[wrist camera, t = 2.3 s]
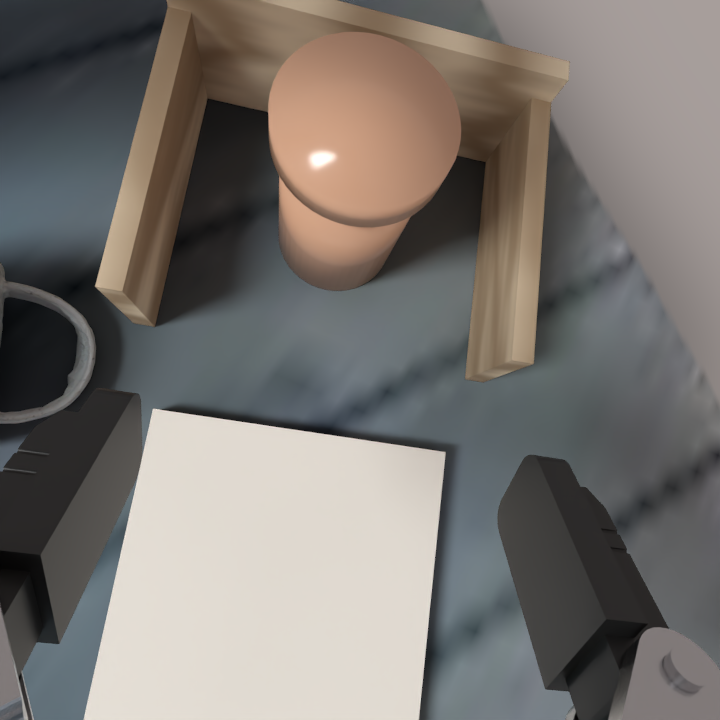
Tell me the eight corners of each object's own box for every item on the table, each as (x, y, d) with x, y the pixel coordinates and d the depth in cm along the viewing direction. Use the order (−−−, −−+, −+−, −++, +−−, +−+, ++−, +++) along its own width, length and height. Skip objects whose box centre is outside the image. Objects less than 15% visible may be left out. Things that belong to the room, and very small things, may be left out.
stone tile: (84, 741, 21) (76, 754, 20) (158, 410, 24) (153, 408, 23) (407, 761, 23) (413, 775, 22) (439, 452, 26) (445, 452, 25)
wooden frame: (133, 323, 25) (80, 272, 18) (192, 78, 28) (165, -45, 21) (482, 382, 27) (552, 357, 20) (503, 150, 30) (569, 61, 23)
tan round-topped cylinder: (260, 285, 26) (251, 184, 17) (282, 167, 28) (286, 11, 18) (388, 308, 27) (451, 226, 17) (403, 193, 29) (469, 58, 19)
